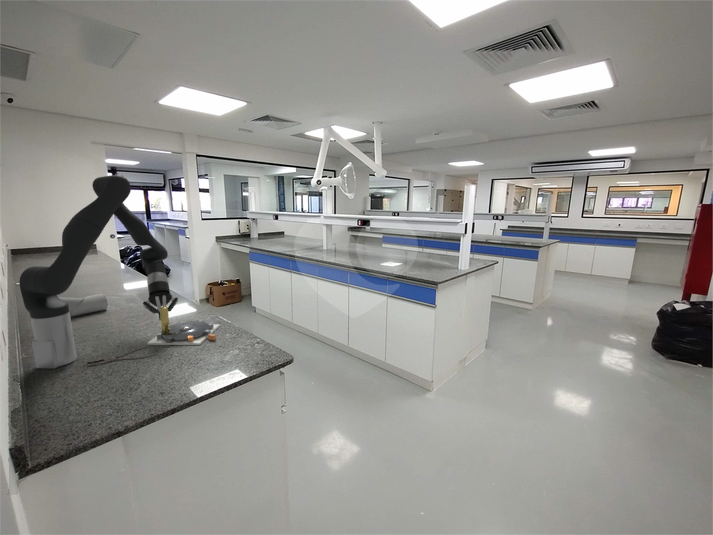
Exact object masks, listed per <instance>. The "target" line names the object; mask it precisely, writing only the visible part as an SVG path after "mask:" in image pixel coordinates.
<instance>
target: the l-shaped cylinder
mask: <svg viewBox="0 0 713 535" xmlns="http://www.w3.org/2000/svg"><path fill="white" fill-rule="evenodd" d="M58 298H59V299H61V300H62V301H64V302H66V303H67V304H68V305H69V311H70V318H72V317H77V316H82V315H86V314H91V313H96V312H102V311H105V310H107V309H108V298H107V297H106V295H105V294H104V293H99V294H98V293H97V294H93V295H88V296H87V295H86V296H85V297H63V296H62V297H60V296H58Z"/></svg>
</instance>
